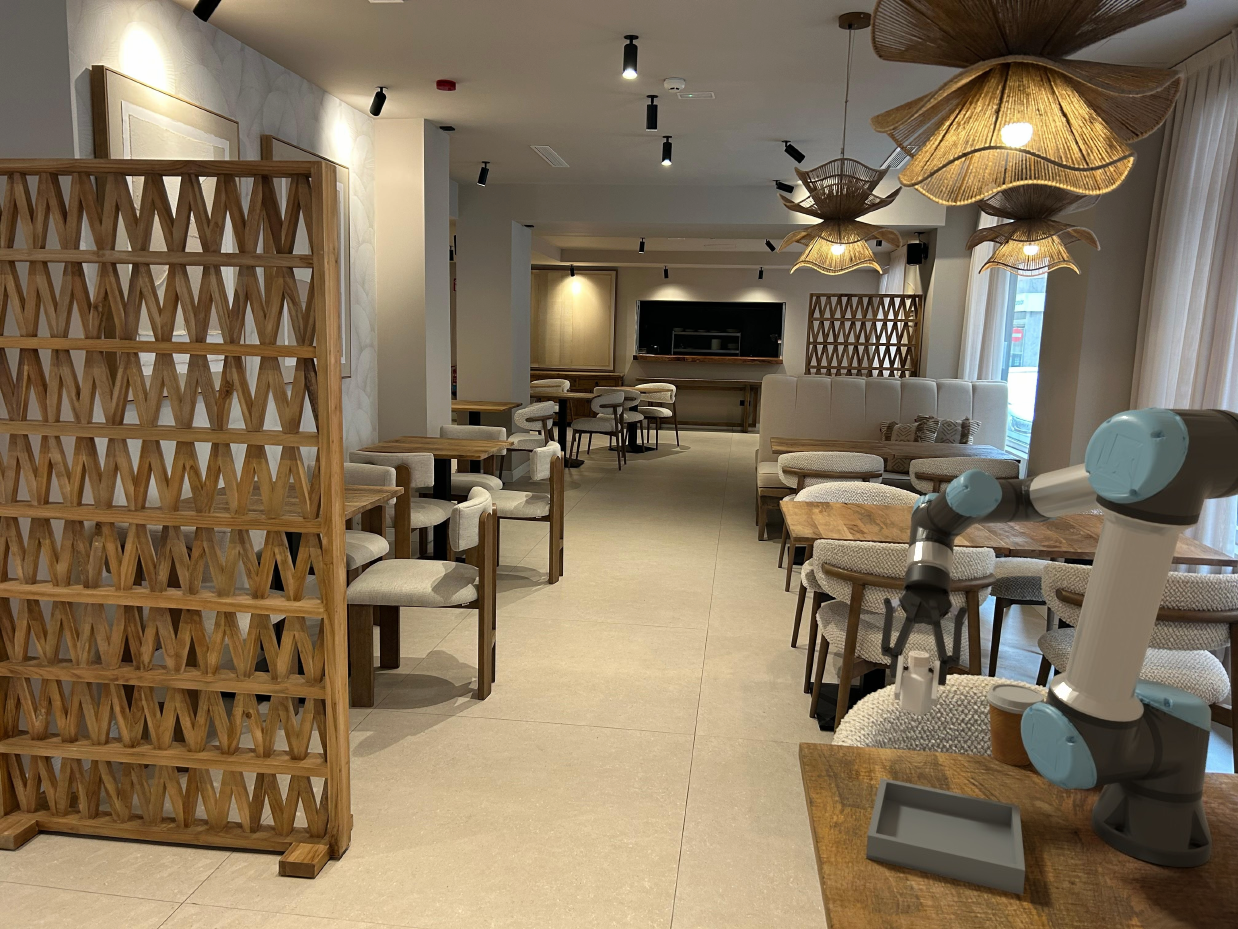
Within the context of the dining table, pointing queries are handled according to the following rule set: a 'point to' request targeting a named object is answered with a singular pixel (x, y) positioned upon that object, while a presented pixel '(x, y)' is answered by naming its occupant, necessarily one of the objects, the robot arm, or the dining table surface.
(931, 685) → the pepper shaker
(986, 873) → the box
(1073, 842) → the dining table surface
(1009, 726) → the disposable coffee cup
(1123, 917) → the dining table surface
